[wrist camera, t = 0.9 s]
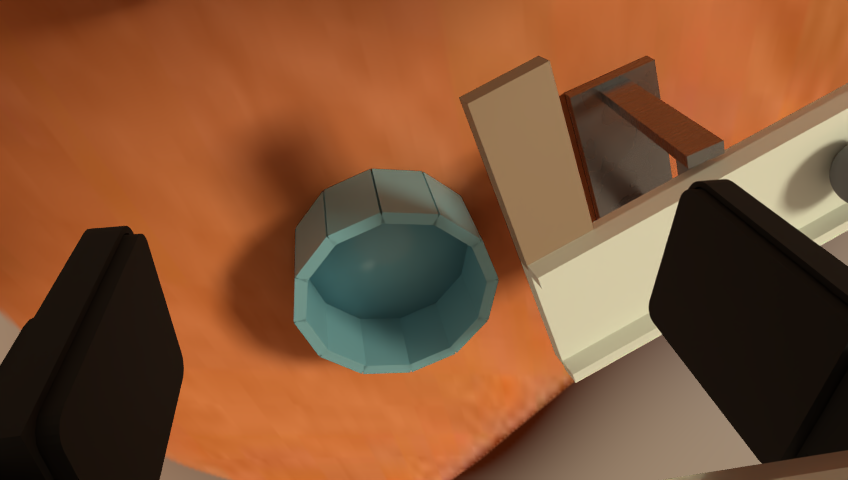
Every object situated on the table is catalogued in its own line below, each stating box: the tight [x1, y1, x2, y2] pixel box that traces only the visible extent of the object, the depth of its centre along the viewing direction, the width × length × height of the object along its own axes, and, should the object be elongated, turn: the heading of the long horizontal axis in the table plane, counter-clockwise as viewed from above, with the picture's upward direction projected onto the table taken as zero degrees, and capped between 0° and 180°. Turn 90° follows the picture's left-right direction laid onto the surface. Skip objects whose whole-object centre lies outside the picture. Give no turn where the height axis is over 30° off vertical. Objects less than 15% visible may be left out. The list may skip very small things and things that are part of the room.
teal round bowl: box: [294, 169, 498, 374], centre depth 41 cm, size 14×14×6 cm
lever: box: [459, 56, 848, 383], centre depth 30 cm, size 22×18×3 cm
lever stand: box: [565, 56, 724, 220], centre depth 37 cm, size 6×12×12 cm, turn 22°
